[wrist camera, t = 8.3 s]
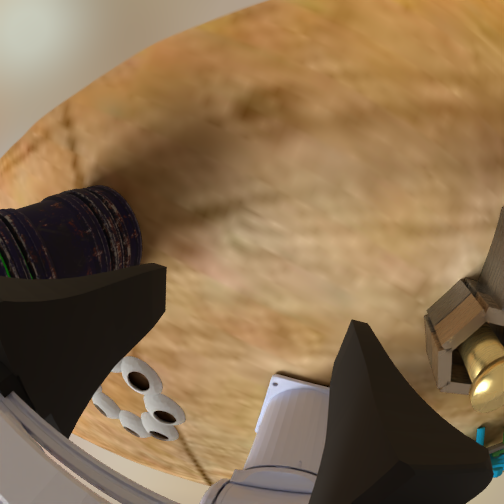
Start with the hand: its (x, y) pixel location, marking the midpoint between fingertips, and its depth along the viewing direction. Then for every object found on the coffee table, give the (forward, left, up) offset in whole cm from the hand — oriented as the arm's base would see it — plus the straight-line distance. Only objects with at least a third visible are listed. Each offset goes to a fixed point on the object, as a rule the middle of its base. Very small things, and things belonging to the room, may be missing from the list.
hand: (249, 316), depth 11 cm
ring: (-26, +17, -11) cm, 33 cm away
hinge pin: (-3, -15, -10) cm, 18 cm away
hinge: (0, -18, -10) cm, 21 cm away
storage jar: (-4, +17, -11) cm, 20 cm away
